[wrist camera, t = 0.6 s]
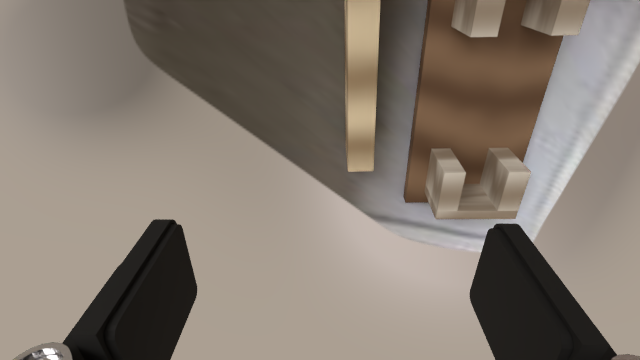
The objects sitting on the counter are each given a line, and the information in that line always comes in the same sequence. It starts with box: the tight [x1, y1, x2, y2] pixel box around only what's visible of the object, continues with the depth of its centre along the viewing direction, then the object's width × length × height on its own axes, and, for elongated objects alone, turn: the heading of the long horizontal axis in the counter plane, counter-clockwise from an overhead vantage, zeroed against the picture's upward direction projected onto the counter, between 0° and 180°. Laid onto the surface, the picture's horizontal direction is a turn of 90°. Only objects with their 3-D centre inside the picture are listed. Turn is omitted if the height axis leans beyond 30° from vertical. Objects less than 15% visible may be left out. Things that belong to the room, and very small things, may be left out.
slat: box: [345, 0, 380, 172], centre depth 32 cm, size 18×2×6 cm, turn 2°
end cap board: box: [404, 0, 590, 219], centre depth 32 cm, size 26×12×6 cm, turn 1°
